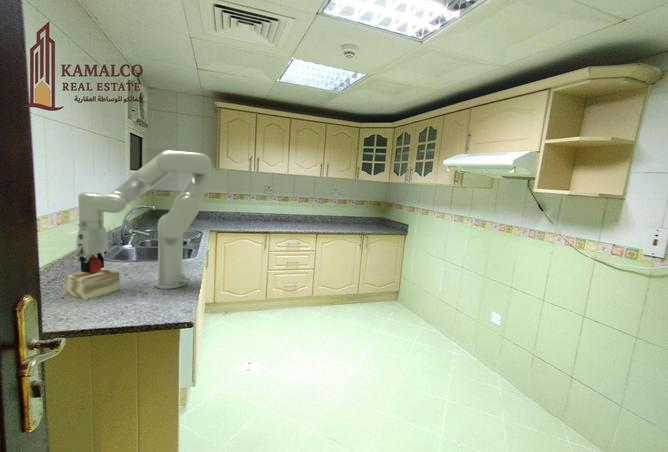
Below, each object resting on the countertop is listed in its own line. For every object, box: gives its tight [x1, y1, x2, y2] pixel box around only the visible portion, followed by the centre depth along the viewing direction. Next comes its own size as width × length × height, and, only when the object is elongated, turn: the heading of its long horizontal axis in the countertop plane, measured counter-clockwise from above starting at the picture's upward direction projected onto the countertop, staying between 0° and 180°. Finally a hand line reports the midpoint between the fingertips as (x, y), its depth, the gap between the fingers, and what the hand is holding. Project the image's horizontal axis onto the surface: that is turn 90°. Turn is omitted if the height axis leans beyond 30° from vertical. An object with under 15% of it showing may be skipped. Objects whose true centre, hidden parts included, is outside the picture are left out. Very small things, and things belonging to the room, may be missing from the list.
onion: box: [88, 255, 102, 274], centre depth 124 cm, size 6×6×8 cm
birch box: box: [65, 267, 120, 300], centre depth 125 cm, size 11×13×8 cm
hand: (92, 269), depth 124 cm, fingers closed on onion, 5 cm apart
